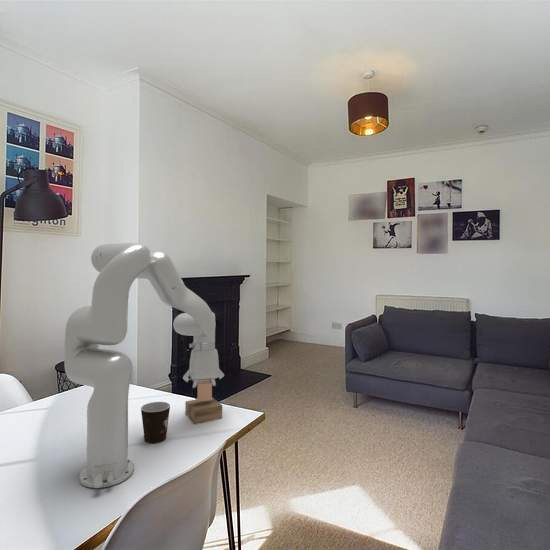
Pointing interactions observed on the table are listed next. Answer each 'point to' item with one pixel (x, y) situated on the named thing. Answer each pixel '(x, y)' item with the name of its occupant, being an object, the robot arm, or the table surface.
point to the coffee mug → (155, 421)
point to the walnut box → (203, 410)
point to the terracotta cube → (204, 390)
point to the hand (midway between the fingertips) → (203, 396)
